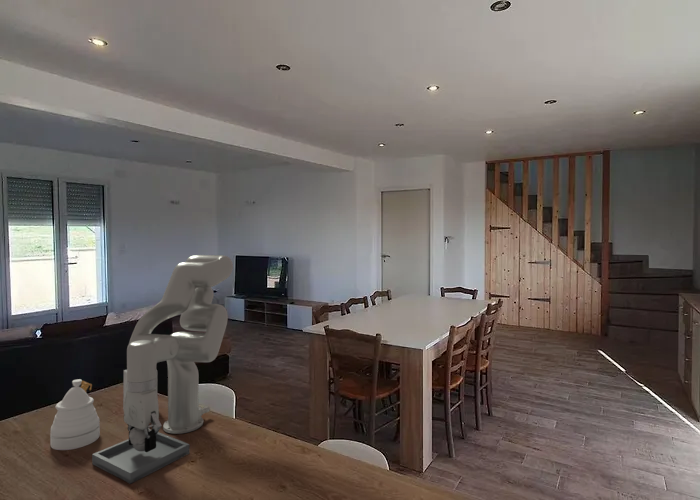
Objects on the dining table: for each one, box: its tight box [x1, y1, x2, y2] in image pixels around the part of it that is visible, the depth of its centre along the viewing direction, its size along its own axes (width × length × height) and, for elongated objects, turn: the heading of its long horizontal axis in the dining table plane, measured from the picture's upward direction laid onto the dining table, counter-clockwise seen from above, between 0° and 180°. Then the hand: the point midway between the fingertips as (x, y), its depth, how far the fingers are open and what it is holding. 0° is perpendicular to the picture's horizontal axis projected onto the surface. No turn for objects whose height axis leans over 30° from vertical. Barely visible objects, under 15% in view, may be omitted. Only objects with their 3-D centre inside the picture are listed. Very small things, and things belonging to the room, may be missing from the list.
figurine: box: [80, 380, 93, 393], centre depth 150 cm, size 8×6×12 cm
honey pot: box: [49, 378, 101, 451], centre depth 131 cm, size 13×13×18 cm
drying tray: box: [91, 431, 190, 485], centre depth 120 cm, size 18×18×3 cm
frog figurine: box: [128, 427, 152, 451], centre depth 120 cm, size 6×7×7 cm
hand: (142, 446), depth 120 cm, fingers closed on frog figurine, 6 cm apart
